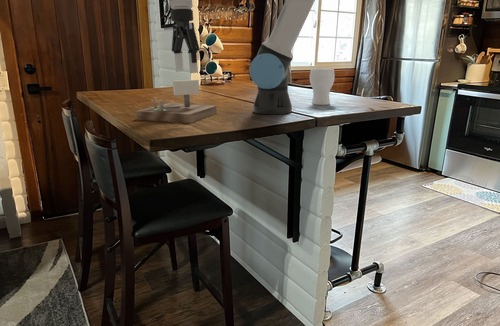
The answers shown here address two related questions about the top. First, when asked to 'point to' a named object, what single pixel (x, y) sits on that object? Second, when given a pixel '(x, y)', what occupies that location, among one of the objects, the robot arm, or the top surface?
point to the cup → (321, 84)
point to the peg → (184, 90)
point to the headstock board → (176, 112)
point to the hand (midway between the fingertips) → (186, 72)
